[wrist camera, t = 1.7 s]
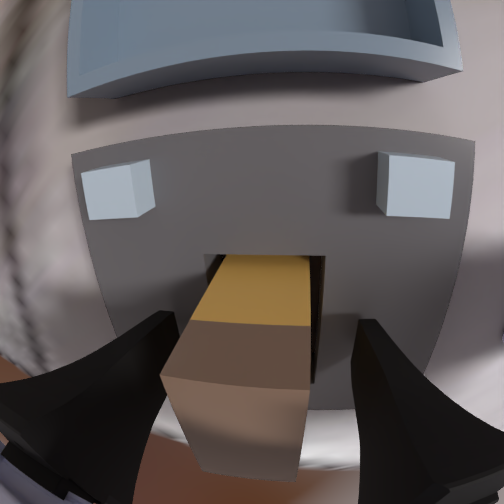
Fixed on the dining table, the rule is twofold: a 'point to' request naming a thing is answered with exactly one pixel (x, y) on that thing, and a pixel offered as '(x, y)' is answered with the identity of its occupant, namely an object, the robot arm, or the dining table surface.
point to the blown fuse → (246, 368)
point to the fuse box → (285, 227)
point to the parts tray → (253, 41)
